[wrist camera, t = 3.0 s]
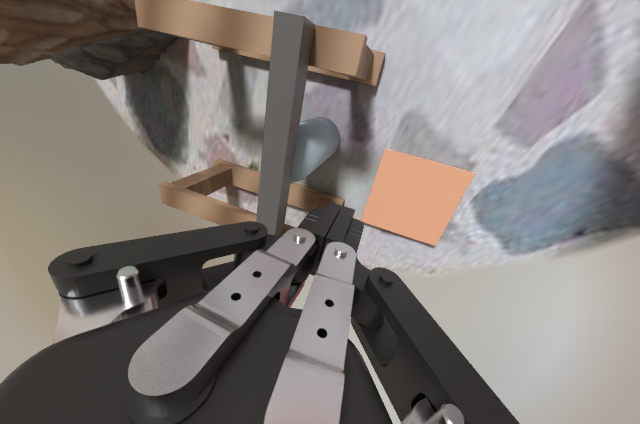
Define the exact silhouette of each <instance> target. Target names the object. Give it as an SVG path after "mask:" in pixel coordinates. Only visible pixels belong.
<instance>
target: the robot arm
mask: <svg viewBox="0 0 640 424" xmlns="http://www.w3.org/2000/svg"><path fill="white" fill-rule="evenodd" d="M354 212H355V210H354V209H351V208H348V207H345V206H342V205H339V204H336V203H333V202H329V203H328V205H327V206H326V208H325V209H324V208H321V207H316V208H314V209H312V210H311V211H310V212H309V214H308V215H307V216H306V218H305V219H304V220H303V221H302V223H301V224H300V225H299V226H298V228H293V229H290V230H288V231H287V232H286V233H285V234H284V235H283V236H278V235H270V234H267V233H268V230H267V228H266V226H265V225H263V224H261V223H259V222H254V221H246V222H240V223H234V224H228V225H221V226H216V227H209V228H203V229H197V230H191V231H185V232H178V233H172V234H166V235H159V236H153V237H148V238H141V239H135V240H129V241H122V242H116V243H109V244H103V245H98V246H91V247H85V248H79V249H75V250H72V251H69V252H66V253H64V254H62V255H60V256H58V257H57V258H55V259H54V260H53V261H52V262H51V263H50V265H49V267H48V271H49V273H50V275H51V278H52V280H53V282H54V284H55V287H56V293H57V295H58V297H59V299H60V302H61V304H60V309H59V314H58V320H57V325H56V330H55V335H54V340H53V344H52V345H51V346H49V347H47V348H45V349H43V350H41V351H40V352H38V353H37V354H35V355H34V356H32V357H31V358H29V359H28V360H27V361H25V362H24V363H22V364H21V365H20V366H19V367H18V368H16V369H15V370H14V371H13V372H12V373H11V374H10V375H9V376H8V377H7V378H6V379H5V380H4V381H3V382H2V383H1V384H0V424H393V423H392V421H391V419H390V417H389V415H388V412H387V410H386V408H385V406H384V403H383V402H382V399H381V397H380V395H379V393H378V390H377V388H376V386H375V384H374V382H373V379H372V377H371V375H370V373H369V370H368V368H367V366H366V364H365V362H364V360H363V358H362V356H361V354H360V352H359V351H358V349H357V348H356V347H355V345H354V344H353V343H352V342H351V341H350V340H349V339H348V332H349V323H350V317H351V324H352V326H353V329H354V330H355V332H356V334H357V336H358V338H359V340H360V342H361V344H362V346H363V348H364V350H365V352H366V354H367V356H368V358H369V360H370V362H371V364H372V366H373V368H374V370H375V372H376V374H377V376H378V378H379V380H380V382H381V383H382V385H383V387H384V389H385V391H386V393H387V395H388V397H389V399H390V401H391V403H392V405H393V407H394V409H395V411H396V413H397V415H398V417H399V419H400V421H401V424H519V422H518V421H517V420H516V419H515V417H514V416H513V415H512V414H511V413H510V411H509V410H508V409H507V408H506V407H505V405H504V404H503V403H502V402H501V400H500V399H499V398H498V397H497V396H496V394H495V393H494V392H493V391H492V390H491V388H490V387H489V386H488V385H487V384H486V382H485V381H484V380H483V379H482V377H481V376H480V375H479V374H478V372H477V371H476V370H475V369H474V368H473V366H472V365H471V364H470V363H469V362H468V360H467V359H466V358H465V357H464V355H463V354H462V353H461V352H460V351H459V349H458V348H457V347H456V346H455V345H454V343H453V342H452V341H451V340H450V338H449V337H448V336H447V335H446V334H445V332H444V331H443V330H442V329H441V327H439V325H438V324H437V323H436V321H435V320H434V319H433V318H432V317H431V315H430V314H429V313H428V312H427V311H426V309H425V308H424V307H423V306H422V304H421V303H420V302H419V301H418V300H417V299H416V297H415V296H414V295H413V293H412V292H411V291H410V290H409V289H408V287H407V286H406V285H405V284H404V283H403V282H402V280H401V279H400V278H399V277H398V276H397V275H396V274H395V273H394V272H392V271H390V270H388V269H385V268H374V269H372V270H371V271H370V270H369V269H367V268H366V267H364V266H363V265H362V264H361V263H360V262H359V261H358V259H357V256H356V253H357V249H358V246H359V242H360V239H361V235H362V232H363V228H364V226H363V223H362V221H360V220H357V219H354V218H353V216H354ZM231 254H234V255H235V256H234V261H233V262H229V263H224V264H221V265H217V266H213V267H209V268H204V269H202V266H203V264H204V263H205V262H206V261H208V260H210V259H214V258H218V257H223V256H226V255H231ZM317 269H318V270H317ZM316 271H317V272H316ZM315 273H316V274H315ZM309 274H311V275H315V277H314V280H313V283H312V286H311V289H310V291H309V294H308V297H307V300H306V303H305V305H304V308H303V310H301V309H295V308H290V307H291V305H292V304H293V302H294V301H295V299H296V297H297V296H298V294H299V293H300V291H301V290H302V288H303V286H304V284H305V280H306V279H307V277H308V275H309ZM386 320H387V321H386ZM391 328H392V329H391ZM393 331H394V332H393Z"/></svg>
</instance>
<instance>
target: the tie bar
mask: <svg viewBox="0 0 640 424" xmlns="http://www.w3.org/2000/svg"><path fill="white" fill-rule="evenodd" d="M314 26H315V24H313V23H312V22H311V21H309V20H308V19H307V18H306V17H304V16H299V15H294V14H289V13H284V12H278V11H274V20H273V32H272V44H271V55H270V67H269V79H268V90H267V102H266V114H265V125H264V137H263V149H262V160H261V172H260V184H259V195H258V207H257V219H256V222H259V223H261V224H263V225H265V226H266V228H267V230H268V233H267V234H270V235H278V236H282V235H283V228H284V222H285V215H286V209H287V202H288V196H289V189H290V183H291V176H292V170H293V163H294V157H295V150H296V143H297V137H298V130H299V124H300V117H301V111H302V104H303V98H304V91H305V85H306V78H307V72H308V65H309V59H310V52H311V46H312V39H313V33H314Z"/></svg>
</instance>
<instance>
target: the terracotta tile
mask: <svg viewBox="0 0 640 424" xmlns="http://www.w3.org/2000/svg"><path fill="white" fill-rule="evenodd" d="M474 175H475V174H474V173H473V172H471V171H467V170H464V169H460V168H457V167H453V166H449V165H446V164H442V163H438V162H435V161H431V160H427V159H424V158H420V157H417V156H413V155H409V154H406V153H402V152H398V151H395V150H391V149H387V148H385V150H384V153H383V156H382V159H381V162H380V165H379V168H378V171H377V174H376V177H375V180H374V183H373V186H372V189H371V192H370V195H369V198H368V201H367V204H366V207H365V210H364V213H363V216H362V219H361V221H362V222H364V223H367V224H370V225H373V226H376V227H379V228H382V229H385V230H388V231H391V232H394V233H397V234H400V235H403V236H406V237H409V238H412V239H415V240H418V241H421V242H424V243H427V244H430V245H433V246H436V244H437V243H438V241H439V239H440V237H441V235H442V233H443V232H444V230H445V228H446V226H447V224H448V222H449V221H450V219H451V217H452V215H453V213H454V211H455V210H456V208H457V206H458V204H459V202H460V200H461V199H462V197H463V195H464V193H465V191H466V189H467V188H468V186H469V184H470V182H471V180H472V178H473V177H474Z"/></svg>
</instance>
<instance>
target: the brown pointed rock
mask: <svg viewBox="0 0 640 424" xmlns="http://www.w3.org/2000/svg"><path fill="white" fill-rule="evenodd" d="M177 37H178V36H174V35H170V34H166V33H162V32H158V31H154V30H150V29H146V28H142V27H138V22H137V14H136V7H135V0H0V64H10V63H12V64H16V65H20V66H23V65H24V64H25V65H26V64H29V63H34V62H37V61H40V60H44V59H52V60H53V61H54V62H55V63H58V64H61V65H62V66H63V67H64V68H68V69H74V70H76V71H80V72H82V73H85V74H86V75H89V76H92V77H94V78H97V79H100V80H106V79H109V78H112V77H116V76H121V75H128V74H132V73H135V72H140V73H145V72H146V71H148V69H149V68H150V67H151V65H152V62H153V61H154V60H158V59H159V57H160V55H161V53H162V52H163V51H164V50H165V48H166V47H167V46H168V45H171V44H173V43H174V42H175V40H176V39H177Z"/></svg>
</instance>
